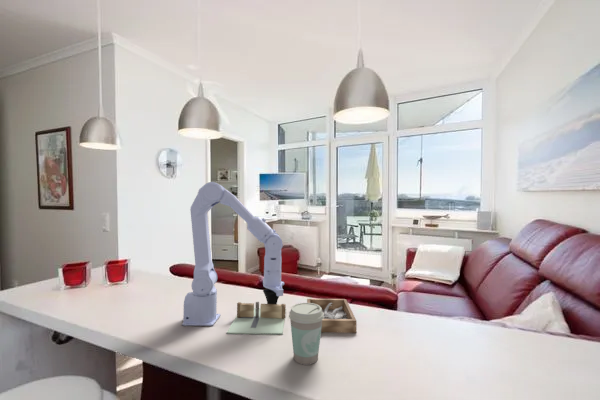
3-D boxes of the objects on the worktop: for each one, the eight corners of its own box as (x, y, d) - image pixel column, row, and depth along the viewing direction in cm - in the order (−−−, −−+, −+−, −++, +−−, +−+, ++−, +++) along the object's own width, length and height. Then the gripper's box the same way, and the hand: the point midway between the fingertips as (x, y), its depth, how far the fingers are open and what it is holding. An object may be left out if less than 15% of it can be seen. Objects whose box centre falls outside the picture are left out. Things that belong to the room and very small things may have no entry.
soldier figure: (352, 322, 87) (340, 324, 77) (341, 331, 88) (327, 334, 78) (339, 301, 91) (325, 300, 81) (328, 310, 92) (313, 310, 82)
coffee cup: (296, 372, 59) (297, 317, 60) (283, 352, 67) (284, 304, 67) (330, 363, 63) (330, 311, 63) (313, 345, 71) (314, 300, 71)
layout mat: (226, 333, 77) (226, 332, 77) (240, 309, 95) (240, 308, 95) (282, 334, 76) (282, 332, 76) (286, 309, 94) (286, 308, 94)
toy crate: (308, 332, 78) (308, 320, 78) (307, 308, 96) (307, 298, 96) (356, 332, 78) (356, 320, 78) (345, 308, 96) (346, 299, 96)
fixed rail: (236, 317, 86) (236, 302, 86) (237, 316, 88) (237, 301, 88) (258, 318, 86) (258, 303, 86) (259, 316, 88) (259, 301, 88)
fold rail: (260, 317, 86) (260, 304, 86) (261, 315, 88) (261, 302, 88) (285, 318, 85) (285, 305, 85) (285, 316, 87) (285, 303, 87)
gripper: (292, 274, 84) (291, 317, 84) (276, 264, 97) (275, 302, 97) (271, 276, 81) (270, 321, 81) (257, 266, 94) (256, 304, 94)
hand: (272, 311), depth 88 cm, fingers closed, pressing on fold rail
